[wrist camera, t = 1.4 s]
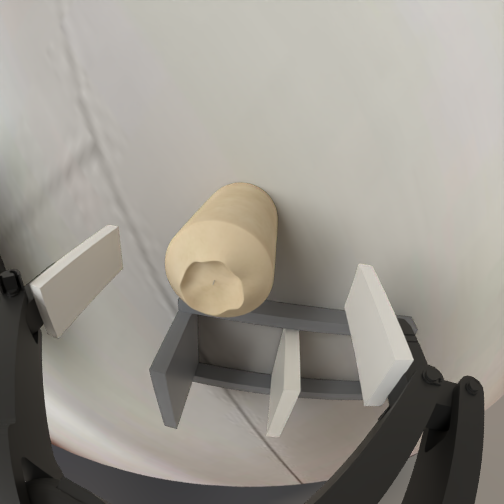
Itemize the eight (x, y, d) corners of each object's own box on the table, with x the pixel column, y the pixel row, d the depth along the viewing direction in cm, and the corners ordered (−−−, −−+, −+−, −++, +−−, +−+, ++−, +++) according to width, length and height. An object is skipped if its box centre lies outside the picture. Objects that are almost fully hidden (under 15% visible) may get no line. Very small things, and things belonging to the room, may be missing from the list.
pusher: (271, 373, 28) (266, 436, 21) (285, 318, 25) (283, 389, 18) (282, 375, 28) (279, 437, 21) (298, 320, 25) (300, 391, 17)
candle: (227, 168, 20) (179, 208, 11) (291, 205, 20) (297, 275, 11) (195, 227, 22) (140, 300, 13) (254, 261, 23) (235, 351, 14)
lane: (188, 366, 30) (166, 430, 22) (185, 287, 25) (146, 358, 17) (370, 387, 29) (382, 449, 21) (411, 316, 24) (443, 385, 16)
